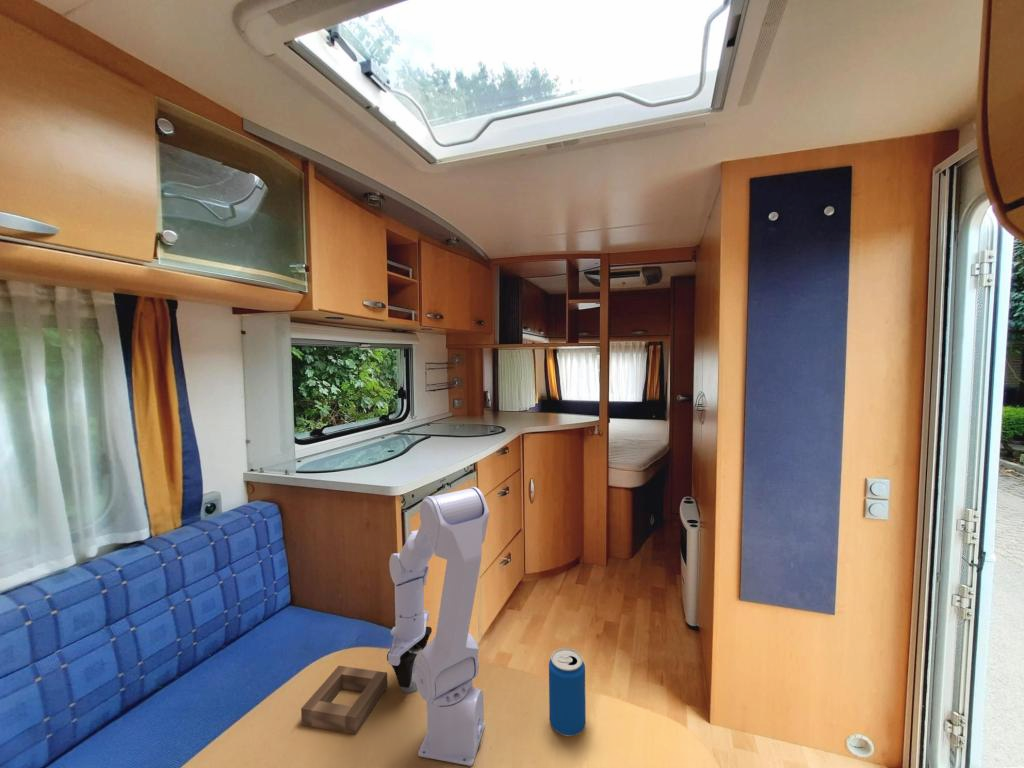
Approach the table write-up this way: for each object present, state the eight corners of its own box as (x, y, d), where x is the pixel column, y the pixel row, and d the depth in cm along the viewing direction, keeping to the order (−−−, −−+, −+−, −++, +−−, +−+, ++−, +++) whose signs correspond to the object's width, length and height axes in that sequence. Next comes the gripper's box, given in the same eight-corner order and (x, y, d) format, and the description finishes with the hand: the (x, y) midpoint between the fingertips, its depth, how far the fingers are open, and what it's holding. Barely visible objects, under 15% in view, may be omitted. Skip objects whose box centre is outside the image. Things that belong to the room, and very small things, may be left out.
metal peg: (425, 678, 84) (425, 645, 84) (416, 694, 80) (415, 659, 80) (406, 675, 85) (405, 642, 85) (396, 691, 81) (395, 657, 80)
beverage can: (585, 742, 69) (584, 673, 68) (547, 736, 70) (546, 668, 70) (586, 711, 75) (585, 648, 75) (551, 706, 76) (550, 644, 76)
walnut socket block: (387, 687, 82) (387, 672, 82) (356, 734, 71) (355, 717, 71) (339, 679, 84) (338, 665, 84) (301, 724, 73) (301, 708, 73)
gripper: (407, 589, 90) (408, 649, 90) (372, 629, 76) (374, 700, 76) (437, 592, 89) (438, 653, 89) (407, 633, 74) (409, 706, 75)
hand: (411, 675), depth 82 cm, fingers open, 5 cm apart
